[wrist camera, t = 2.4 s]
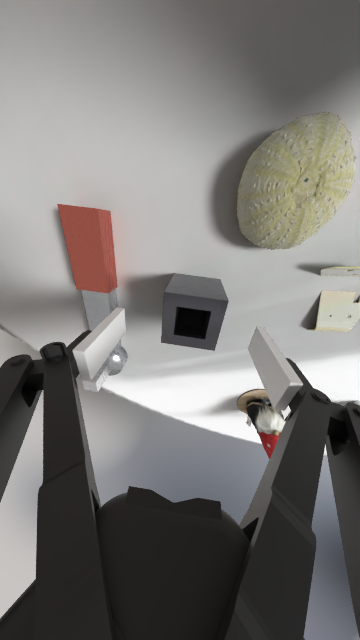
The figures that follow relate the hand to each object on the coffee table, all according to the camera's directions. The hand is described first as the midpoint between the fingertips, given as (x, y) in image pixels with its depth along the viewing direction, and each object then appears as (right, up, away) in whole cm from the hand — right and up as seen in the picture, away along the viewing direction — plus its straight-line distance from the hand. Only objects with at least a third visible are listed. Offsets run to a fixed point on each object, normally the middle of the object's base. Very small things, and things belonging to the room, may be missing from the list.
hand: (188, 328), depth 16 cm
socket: (+1, +4, +6) cm, 7 cm away
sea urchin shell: (+9, +14, 0) cm, 16 cm away
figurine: (+15, -15, +16) cm, 27 cm away
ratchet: (-12, +3, +8) cm, 15 cm away
